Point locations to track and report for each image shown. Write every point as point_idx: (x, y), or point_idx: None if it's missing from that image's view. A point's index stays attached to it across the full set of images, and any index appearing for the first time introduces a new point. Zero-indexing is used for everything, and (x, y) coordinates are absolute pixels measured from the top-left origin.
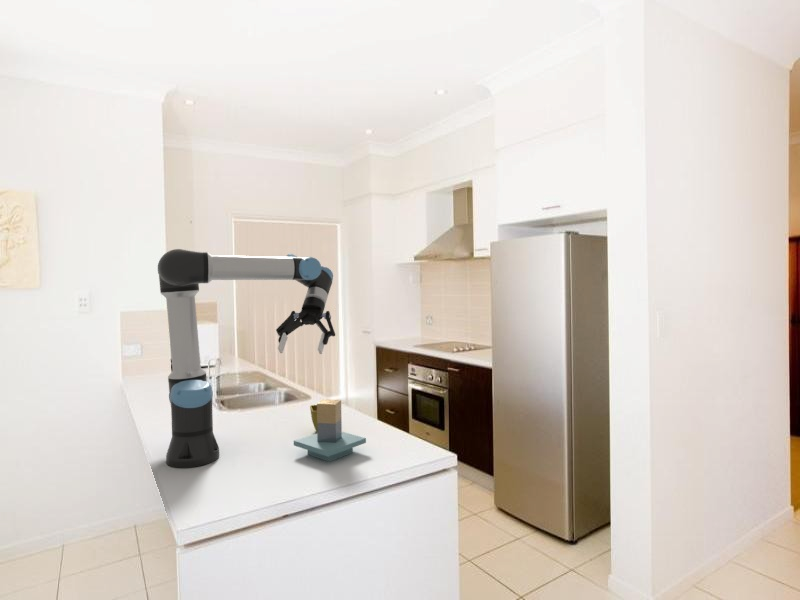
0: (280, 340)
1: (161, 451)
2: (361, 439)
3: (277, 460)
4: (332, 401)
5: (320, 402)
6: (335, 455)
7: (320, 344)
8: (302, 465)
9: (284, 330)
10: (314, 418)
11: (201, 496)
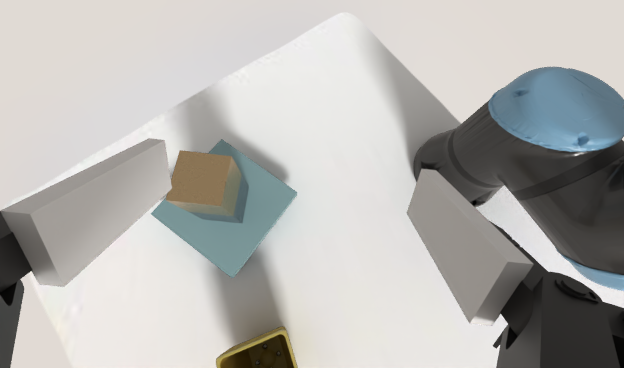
0: (469, 202)
1: None
2: (160, 205)
3: (316, 173)
4: (190, 180)
5: (223, 168)
6: None
7: (128, 152)
8: (270, 154)
9: (559, 299)
10: (281, 327)
11: (365, 63)
